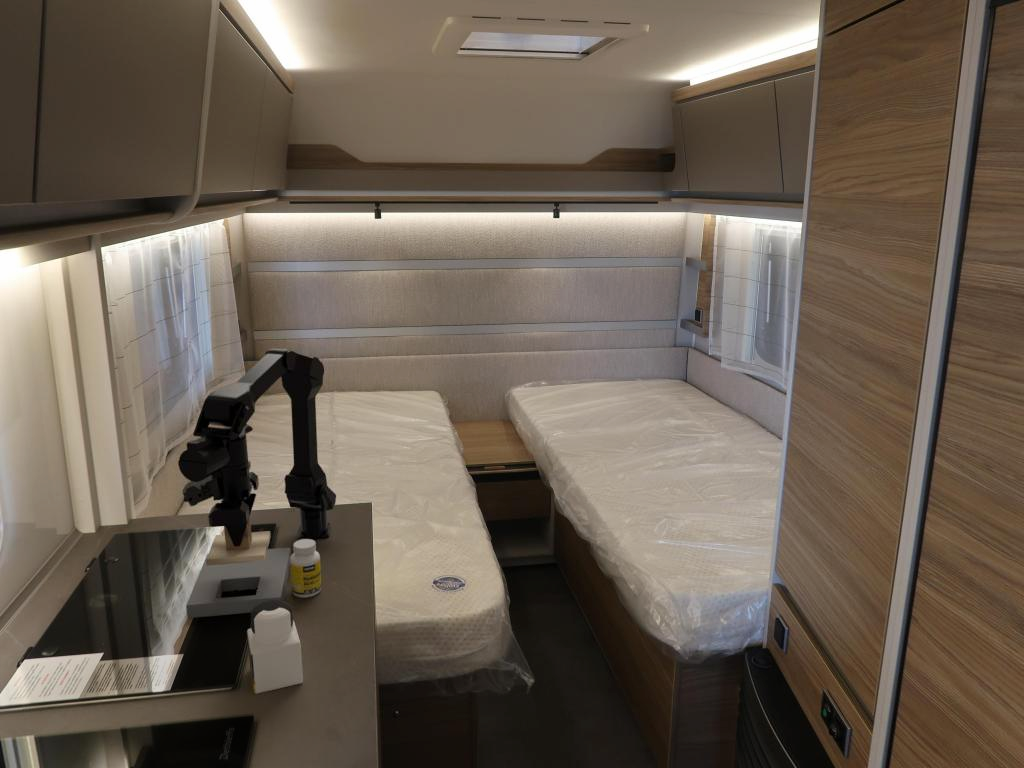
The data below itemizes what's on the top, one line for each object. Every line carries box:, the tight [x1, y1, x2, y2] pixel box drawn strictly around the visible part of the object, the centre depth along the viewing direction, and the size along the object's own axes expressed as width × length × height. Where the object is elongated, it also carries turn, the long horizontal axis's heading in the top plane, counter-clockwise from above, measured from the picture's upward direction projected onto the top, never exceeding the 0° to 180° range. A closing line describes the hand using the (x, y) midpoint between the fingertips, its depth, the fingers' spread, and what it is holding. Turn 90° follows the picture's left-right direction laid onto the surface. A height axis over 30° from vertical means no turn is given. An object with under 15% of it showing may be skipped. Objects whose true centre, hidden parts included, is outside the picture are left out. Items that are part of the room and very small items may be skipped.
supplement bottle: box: [290, 538, 322, 599], centre depth 145 cm, size 5×5×10 cm
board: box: [185, 547, 292, 619], centre depth 147 cm, size 20×16×2 cm
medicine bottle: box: [246, 600, 304, 694], centre depth 119 cm, size 7×7×12 cm
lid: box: [205, 516, 272, 566], centre depth 144 cm, size 10×10×6 cm
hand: (239, 540), depth 144 cm, fingers closed on lid, 4 cm apart
